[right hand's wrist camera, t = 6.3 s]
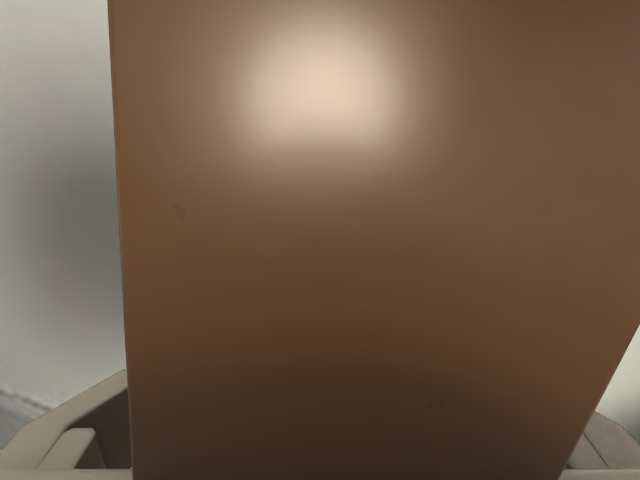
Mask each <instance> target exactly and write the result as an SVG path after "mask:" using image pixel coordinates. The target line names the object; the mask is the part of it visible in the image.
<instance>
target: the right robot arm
mask: <svg viewBox="0 0 640 480" xmlns="http://www.w3.org/2000/svg"><path fill="white" fill-rule="evenodd" d="M131 468H132V462H131V442H130V423H129V404H128V385H127V369H123V370H121V371H119V372H117V373H116V374H114V375H112V376H110V377H109V378H107V379H105V380H103V381H102V382H100V383H98V384H96V385H95V386H93V387H91V388H89V389H88V390H86V391H84V392H82V393H80V394H79V395H77V396H75V397H73V398H72V399H70V400H68V401H66V402H65V403H63V404H61V405H59V406H58V407H56V408H54V409H52V410H51V411H49V412H47V413H45V414H44V415H42V416H40V417H38V418H37V419H35V420H33V421H31V422H30V423H28V424H26V425H24V426H23V427H22V428H21V429H20V430H19V431H18V433H17V434H16V435H15V436H14V437H13V438H12V439H11V441H10V442H9V443H8V444H7V445H6V446H5V448H4V449H3V450H2V451H1V452H0V480H132V469H131ZM559 480H640V446H639V445H638V443H637V442H636V441H635V440H634V439H633V438H632V437H631V436H630V434H629V433H628V432H627V431H626V430H625V429H624V428H623V427H622V426H620V425H619V424H617V423H615V422H613V421H612V420H610V419H608V418H606V417H605V416H603V415H601V414H599V413H598V412H596V411H594V413H593V415H592V417H591V419H590V421H589V422H588V424H587V426H586V428H585V430H584V432H583V434H582V436H581V438H580V440H579V442H578V444H577V446H576V447H575V449H574V451H573V453H572V455H571V457H570V459H569V461H568V463H567V465H566V467H565V469H564V471H563V472H562V474H561V476H560V478H559Z"/></svg>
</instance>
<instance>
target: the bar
mask: <svg viewBox="0 0 640 480" xmlns="http://www.w3.org/2000/svg"><path fill="white" fill-rule="evenodd" d="M107 1H108V20H109V40H110V59H111V78H112V97H113V116H114V136H115V155H116V174H117V193H118V212H119V231H120V251H121V270H122V289H123V308H124V327H125V347H126V366H127V385H128V404H129V423H130V442H131V462H132V480H559V478H560V476H561V474H562V472H563V471H564V469H565V467H566V465H567V463H568V461H569V459H570V457H571V455H572V453H573V451H574V449H575V447H576V446H577V444H578V442H579V440H580V438H581V436H582V434H583V432H584V430H585V428H586V426H587V424H588V422H589V421H590V419H591V417H592V415H593V413H594V411H595V409H596V407H597V405H598V403H599V401H600V399H601V397H602V396H603V394H604V392H605V390H606V388H607V386H608V384H609V382H610V380H611V378H612V376H613V374H614V372H615V371H616V369H617V367H618V365H619V363H620V361H621V359H622V357H623V355H624V353H625V351H626V349H627V347H628V346H629V344H630V342H631V340H632V338H633V336H634V334H635V332H636V330H637V328H638V326H639V324H640V0H107Z"/></svg>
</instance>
